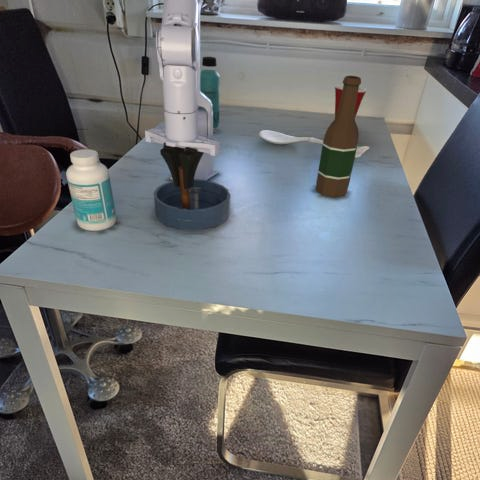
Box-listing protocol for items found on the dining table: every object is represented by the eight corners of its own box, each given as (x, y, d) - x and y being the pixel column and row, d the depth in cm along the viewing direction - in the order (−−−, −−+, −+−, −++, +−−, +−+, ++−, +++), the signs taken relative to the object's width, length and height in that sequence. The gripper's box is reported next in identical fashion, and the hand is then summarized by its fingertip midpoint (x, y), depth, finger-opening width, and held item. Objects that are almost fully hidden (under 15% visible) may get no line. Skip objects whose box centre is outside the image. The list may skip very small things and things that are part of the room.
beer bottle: (343, 185, 104) (366, 74, 89) (351, 199, 98) (377, 81, 83) (312, 184, 103) (329, 72, 88) (317, 198, 98) (337, 80, 82)
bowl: (180, 193, 96) (179, 173, 93) (241, 208, 91) (242, 188, 88) (140, 220, 85) (138, 198, 82) (207, 238, 81) (207, 217, 78)
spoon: (357, 166, 115) (360, 153, 112) (253, 143, 126) (254, 130, 124) (367, 157, 121) (370, 145, 119) (267, 135, 132) (268, 124, 130)
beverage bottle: (195, 128, 134) (193, 55, 122) (214, 127, 137) (215, 54, 124) (202, 134, 130) (202, 59, 117) (222, 133, 132) (224, 58, 120)
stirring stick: (185, 211, 87) (181, 164, 80) (192, 213, 87) (188, 166, 80) (181, 215, 86) (176, 168, 79) (188, 217, 86) (183, 170, 79)
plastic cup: (365, 126, 146) (374, 87, 138) (347, 131, 140) (355, 91, 132) (340, 119, 151) (347, 81, 144) (321, 123, 145) (327, 84, 138)
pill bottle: (101, 211, 87) (89, 143, 79) (124, 223, 84) (115, 153, 75) (69, 223, 83) (53, 153, 74) (92, 236, 79) (78, 164, 71)
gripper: (131, 108, 73) (140, 185, 81) (206, 121, 68) (206, 201, 77) (155, 100, 78) (160, 173, 86) (226, 112, 73) (224, 188, 82)
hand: (183, 186), depth 82 cm, fingers closed on stirring stick, 1 cm apart
